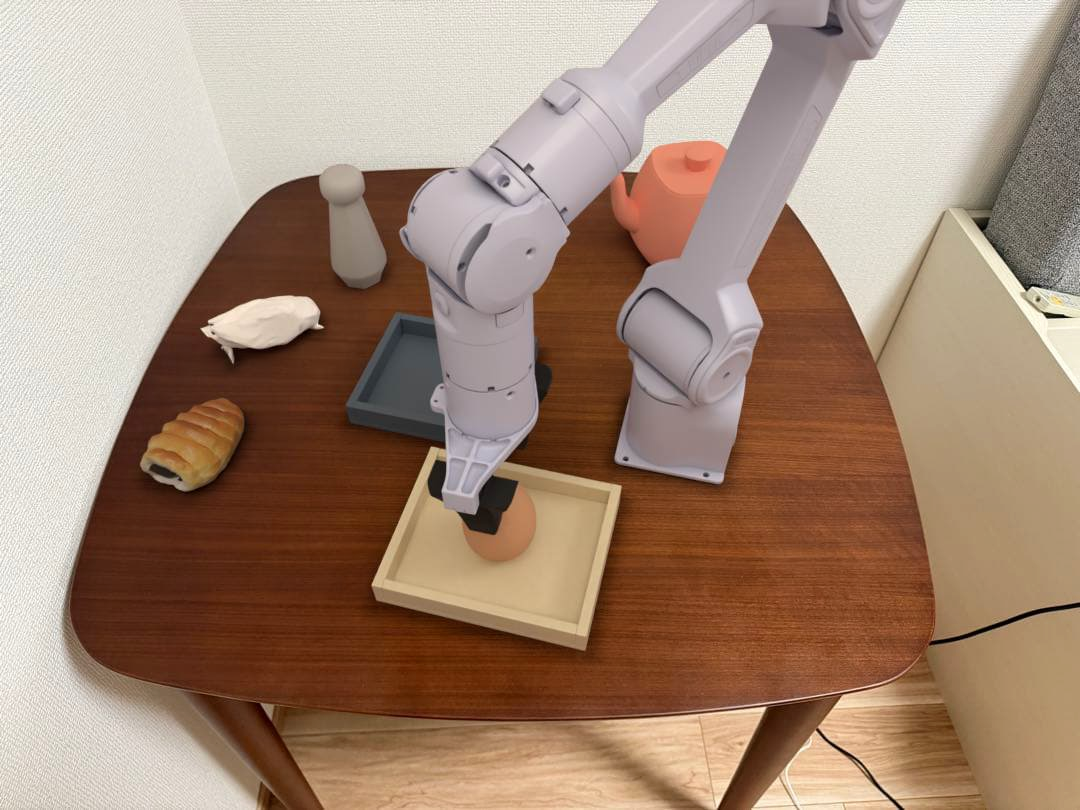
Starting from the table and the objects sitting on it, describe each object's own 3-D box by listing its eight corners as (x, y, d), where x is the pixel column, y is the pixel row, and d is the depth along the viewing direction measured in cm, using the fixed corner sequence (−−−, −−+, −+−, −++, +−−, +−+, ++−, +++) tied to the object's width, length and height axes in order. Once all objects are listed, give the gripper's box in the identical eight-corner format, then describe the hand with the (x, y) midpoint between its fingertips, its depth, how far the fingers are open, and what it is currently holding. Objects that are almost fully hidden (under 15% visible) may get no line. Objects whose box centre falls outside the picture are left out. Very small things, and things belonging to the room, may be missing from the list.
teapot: (576, 221, 94) (579, 125, 85) (743, 202, 96) (764, 107, 87) (601, 299, 86) (608, 202, 76) (784, 276, 88) (812, 179, 78)
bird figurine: (250, 387, 80) (333, 325, 82) (207, 339, 75) (297, 275, 77) (234, 364, 83) (314, 305, 85) (192, 317, 78) (278, 256, 80)
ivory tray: (619, 502, 69) (621, 485, 67) (585, 651, 61) (586, 636, 59) (434, 463, 72) (431, 446, 70) (376, 600, 64) (371, 585, 62)
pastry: (206, 402, 77) (193, 374, 74) (267, 423, 75) (256, 396, 72) (139, 478, 71) (122, 451, 68) (203, 503, 70) (188, 477, 67)
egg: (531, 511, 68) (529, 451, 62) (542, 572, 64) (541, 515, 58) (462, 521, 68) (453, 460, 61) (469, 583, 64) (460, 526, 58)
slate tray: (538, 355, 80) (538, 337, 79) (502, 454, 73) (501, 437, 71) (398, 329, 83) (395, 311, 81) (349, 423, 75) (344, 405, 73)
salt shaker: (379, 298, 86) (357, 193, 76) (327, 291, 87) (299, 186, 77) (396, 262, 90) (377, 158, 80) (347, 256, 90) (322, 152, 80)
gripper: (461, 270, 55) (475, 401, 65) (382, 436, 46) (413, 557, 56) (563, 287, 54) (561, 418, 64) (503, 460, 45) (511, 580, 55)
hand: (498, 484), depth 60 cm, fingers open, 7 cm apart
